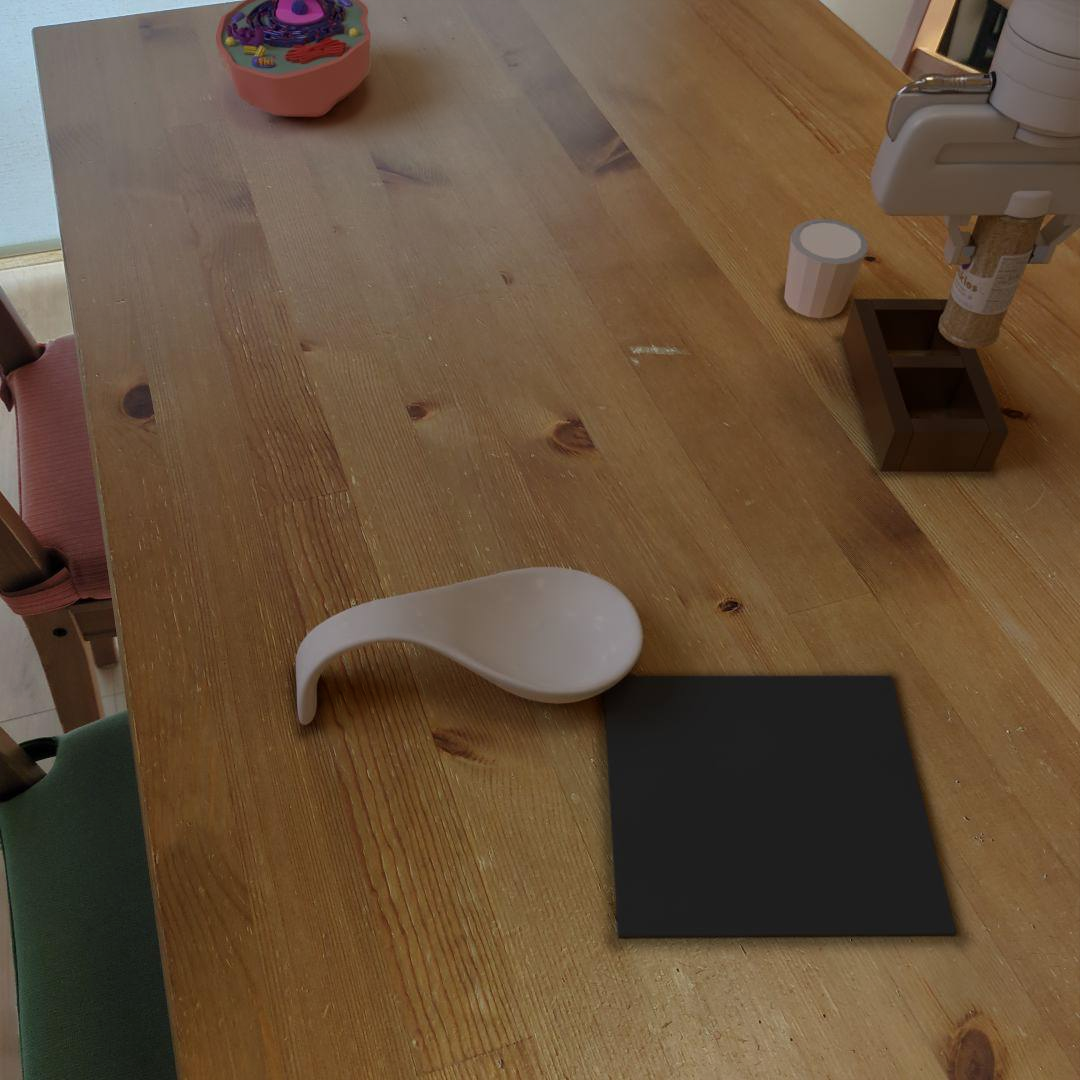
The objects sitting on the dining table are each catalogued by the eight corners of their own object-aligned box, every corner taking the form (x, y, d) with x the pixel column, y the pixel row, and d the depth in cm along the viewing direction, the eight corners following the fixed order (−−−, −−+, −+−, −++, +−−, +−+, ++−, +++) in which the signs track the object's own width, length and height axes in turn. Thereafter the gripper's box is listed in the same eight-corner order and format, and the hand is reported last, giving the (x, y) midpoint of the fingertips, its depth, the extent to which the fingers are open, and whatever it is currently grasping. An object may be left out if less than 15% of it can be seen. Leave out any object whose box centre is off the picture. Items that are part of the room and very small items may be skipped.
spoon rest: (617, 590, 82) (620, 518, 78) (661, 714, 74) (668, 642, 69) (295, 642, 79) (277, 571, 74) (303, 778, 71) (283, 708, 66)
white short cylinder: (842, 280, 107) (859, 217, 102) (857, 326, 102) (876, 262, 97) (771, 280, 107) (785, 217, 101) (783, 326, 102) (798, 263, 97)
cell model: (199, 136, 121) (175, 33, 113) (267, 50, 134) (250, -49, 125) (347, 157, 119) (334, 53, 110) (402, 68, 132) (394, -31, 123)
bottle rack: (939, 343, 101) (956, 298, 97) (988, 475, 91) (1009, 431, 87) (840, 342, 101) (853, 298, 97) (879, 475, 90) (895, 431, 87)
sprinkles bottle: (926, 319, 86) (978, 161, 76) (979, 309, 87) (1038, 152, 76) (955, 356, 83) (1013, 198, 73) (1010, 346, 84) (1075, 188, 73)
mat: (888, 681, 78) (891, 675, 77) (953, 938, 66) (957, 933, 65) (602, 682, 77) (603, 675, 77) (617, 941, 66) (618, 936, 65)
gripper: (909, 100, 67) (859, 288, 78) (1247, 98, 67) (1151, 285, 78) (887, 50, 71) (842, 235, 82) (1205, 48, 71) (1119, 232, 82)
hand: (995, 259), depth 80 cm, fingers closed on sprinkles bottle, 4 cm apart
